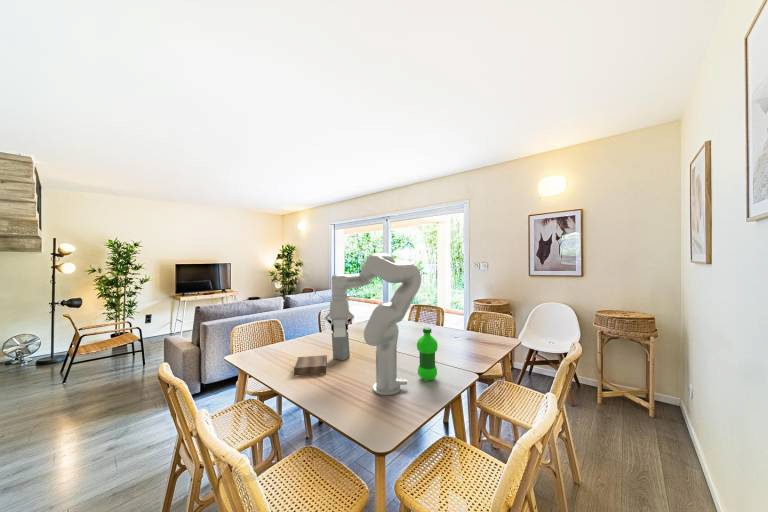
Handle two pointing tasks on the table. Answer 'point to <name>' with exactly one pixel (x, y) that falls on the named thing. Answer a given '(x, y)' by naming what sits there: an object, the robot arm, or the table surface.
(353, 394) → the table surface
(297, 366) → the walnut stand
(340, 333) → the white rectangular block
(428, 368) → the plastic bottle
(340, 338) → the skincare box
